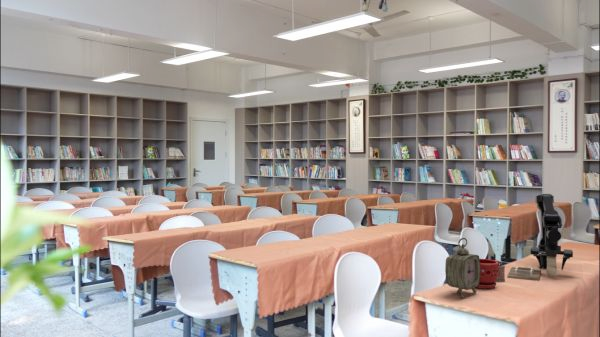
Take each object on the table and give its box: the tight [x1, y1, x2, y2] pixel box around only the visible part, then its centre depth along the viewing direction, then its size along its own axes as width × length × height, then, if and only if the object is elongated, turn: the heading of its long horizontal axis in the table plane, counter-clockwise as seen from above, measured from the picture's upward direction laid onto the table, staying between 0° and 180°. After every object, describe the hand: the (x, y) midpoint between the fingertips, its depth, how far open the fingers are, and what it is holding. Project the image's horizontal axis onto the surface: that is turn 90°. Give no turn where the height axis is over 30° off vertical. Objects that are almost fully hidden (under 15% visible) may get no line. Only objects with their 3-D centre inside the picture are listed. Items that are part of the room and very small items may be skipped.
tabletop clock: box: [444, 237, 481, 299], centre depth 213 cm, size 14×9×25 cm, turn 131°
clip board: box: [507, 266, 542, 282], centre depth 246 cm, size 20×14×4 cm
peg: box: [546, 256, 557, 277], centre depth 243 cm, size 4×4×9 cm
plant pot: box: [475, 258, 500, 289], centre depth 226 cm, size 13×13×12 cm
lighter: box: [488, 259, 506, 283], centre depth 234 cm, size 8×3×10 cm, turn 84°
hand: (551, 269), depth 243 cm, fingers open, 9 cm apart
